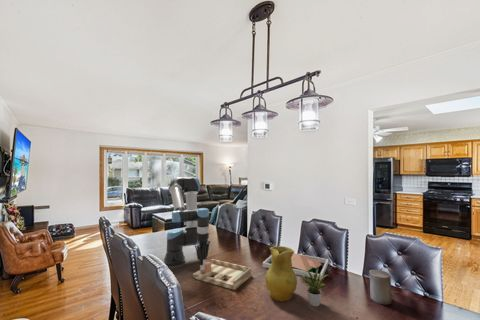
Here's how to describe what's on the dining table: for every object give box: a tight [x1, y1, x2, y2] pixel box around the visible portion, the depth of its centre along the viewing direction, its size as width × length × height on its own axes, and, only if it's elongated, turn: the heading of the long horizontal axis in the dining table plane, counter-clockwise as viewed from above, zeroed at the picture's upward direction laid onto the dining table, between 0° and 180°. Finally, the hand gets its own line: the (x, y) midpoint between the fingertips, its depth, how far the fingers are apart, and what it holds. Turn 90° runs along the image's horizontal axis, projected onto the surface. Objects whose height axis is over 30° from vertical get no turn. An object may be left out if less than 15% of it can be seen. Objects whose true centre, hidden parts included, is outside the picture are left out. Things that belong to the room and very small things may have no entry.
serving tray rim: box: [262, 252, 329, 281], centre depth 167 cm, size 40×30×3 cm
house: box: [291, 252, 323, 273], centre depth 167 cm, size 23×33×8 cm
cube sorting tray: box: [192, 258, 252, 291], centre depth 148 cm, size 31×21×5 cm
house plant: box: [301, 268, 328, 307], centre depth 120 cm, size 14×14×16 cm
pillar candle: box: [369, 269, 393, 305], centre depth 123 cm, size 10×10×15 cm
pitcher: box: [265, 245, 298, 302], centre depth 128 cm, size 17×19×25 cm
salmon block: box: [199, 260, 212, 273], centre depth 152 cm, size 5×5×5 cm
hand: (202, 269), depth 149 cm, fingers closed
